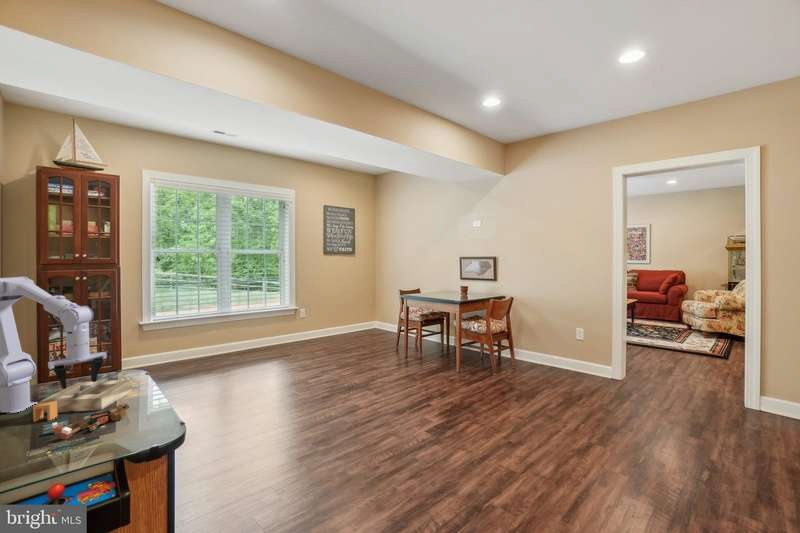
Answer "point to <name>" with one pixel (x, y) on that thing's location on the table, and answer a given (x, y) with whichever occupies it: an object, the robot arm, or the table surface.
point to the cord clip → (42, 405)
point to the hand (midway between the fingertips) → (79, 384)
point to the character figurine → (91, 421)
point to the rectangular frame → (89, 395)
